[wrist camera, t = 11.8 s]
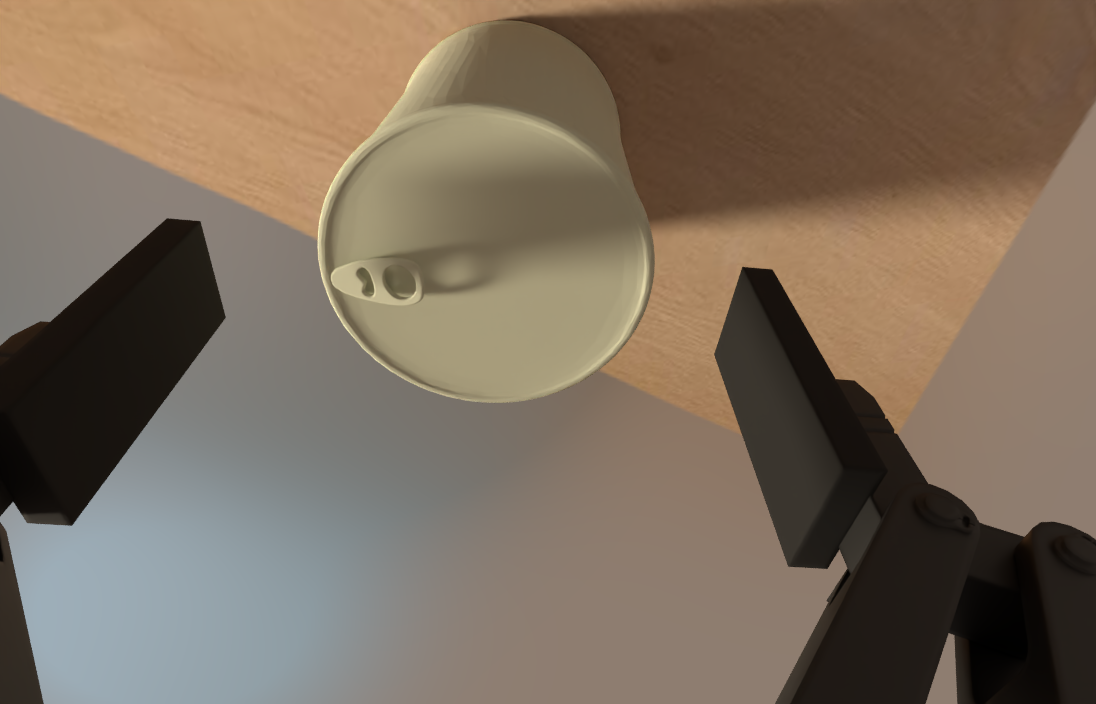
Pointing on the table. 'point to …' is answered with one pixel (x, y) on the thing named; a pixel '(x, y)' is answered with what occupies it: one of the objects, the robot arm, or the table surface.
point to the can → (491, 222)
